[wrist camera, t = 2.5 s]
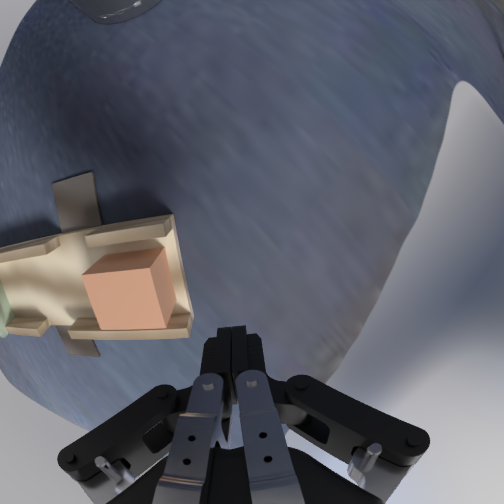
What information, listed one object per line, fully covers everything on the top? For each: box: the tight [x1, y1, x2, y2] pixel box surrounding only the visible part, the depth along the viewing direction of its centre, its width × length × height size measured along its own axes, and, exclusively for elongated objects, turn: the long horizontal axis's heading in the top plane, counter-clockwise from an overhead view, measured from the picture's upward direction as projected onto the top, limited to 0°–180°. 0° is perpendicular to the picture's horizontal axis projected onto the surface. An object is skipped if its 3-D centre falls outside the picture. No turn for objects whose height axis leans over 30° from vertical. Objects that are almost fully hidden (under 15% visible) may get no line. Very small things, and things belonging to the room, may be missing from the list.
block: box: [81, 247, 177, 330], centre depth 21 cm, size 5×6×4 cm
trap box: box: [0, 172, 194, 357], centre depth 21 cm, size 20×26×4 cm
